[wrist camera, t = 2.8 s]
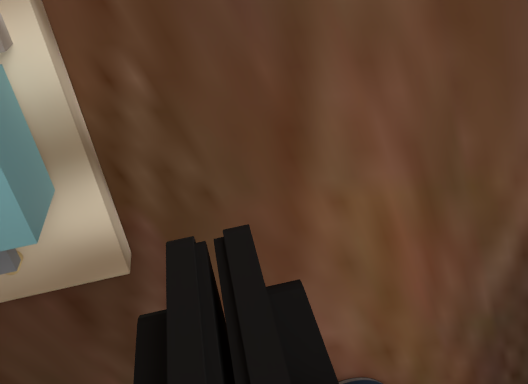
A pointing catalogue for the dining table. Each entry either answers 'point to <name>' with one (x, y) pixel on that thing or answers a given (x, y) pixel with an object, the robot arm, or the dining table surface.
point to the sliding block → (19, 182)
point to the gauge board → (58, 165)
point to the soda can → (360, 381)
